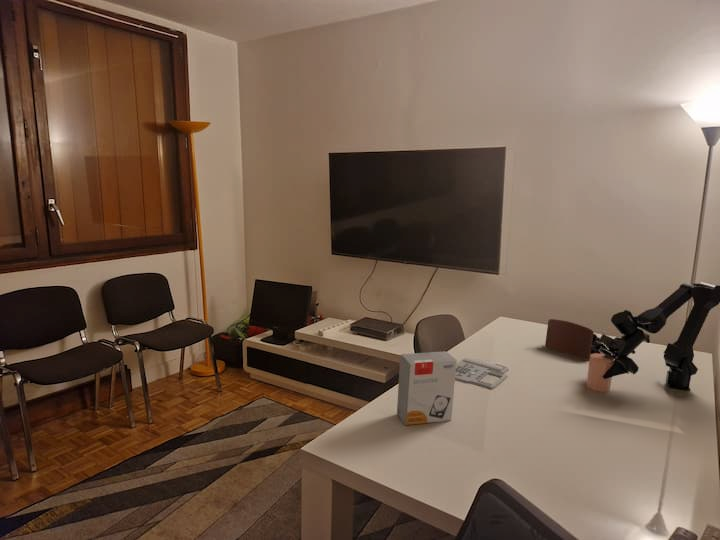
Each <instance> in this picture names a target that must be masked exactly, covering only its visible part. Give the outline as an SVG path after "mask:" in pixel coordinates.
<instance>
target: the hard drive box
mask: <svg viewBox="0 0 720 540" xmlns="http://www.w3.org/2000/svg"><path fill="white" fill-rule="evenodd" d="M399 356H400V357H399V371H398V372H399V373H398V375H399V376H398V389H397V390H398V391H397V404H396V405H397V406H396V415H397V416H398V417H399V419H400V420H401V422H402V424H404V426H409V425H410V426H411V425H414V424H417V425H421V424H427V423H443V422H449V421H452V415H453V406H454V396H455V395H454V393H455V383H456V382H455V381H456V380H455V373H456V364H457V363H458V362H457V359H456V358H455V357H454V356H453V355H452V354H450V353H449V352H447V351H431V352H430V351H429V352H416V353H403V354H402V353H401V354H400V355H399Z"/></svg>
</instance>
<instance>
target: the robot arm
mask: <svg viewBox="0 0 720 540" xmlns="http://www.w3.org/2000/svg"><path fill="white" fill-rule="evenodd" d="M691 299H692V302H693V306H692V308H691V310H690V312H689V314H688V317H687V319H686V321H685V323H684V325H683V327H682V329H681V332H680V333H679V336H678V338H677V340H676V341H675V342H673V343H671V342H669V343H667V345H666V348H665V350H663V359H664V363H665V366H666V367H668V368H669V370H667V371H666V377H665V382H666V384H667V386H668V387H669V388H671V389H678V390H684V391H689V392H690V391H691V388H690V383H691V380H692V379H691V378H692V376H693V375H696V374H697V372H698V370H699V368H698V367H697V366H696V364H694V362H693V361H694V358H695V353H694V348H693V347H694V345H695V342H696V341H697V339H698V336H699V335H700V332H701V330H702V328H703V327H704V324H705V321H706V320H707V317H708V315H709V313H710V312H711V310H713V309H714V308H715V307H716V306H718V305H719V304H720V285H719V284H715V283H711V282H706V281H701V282H699V283H696V282H695V283H693V282H690V283H687V282H685V283H684V282H683V283H681V284H680V286H679V287H678V288H677V289H676V290H674V292H672V293H671V294H670V295H669V296H668V297H666V298H665V299H664V300H663V301H661V302H660V303H659V304H658V305H657V306H655V307H654V308H653V307H652V308H649V309H646V310H644V311H643V312H641V313H639V314H638V315H635V316H634V315H633V313H632V312H631V311H630V310H627V309H624V310H623V311H619V312H617V313H615V314H613V315H612V316H611V318H610V322H611V323H612V325H613V326H614V327H615V328H616V330H617V331H618V332H619V333H620V334H621V335H622V336H620V337H618V336H616V337H615V338H613V337H611V336H608V335H607V334H604V333H602V334H601V336H600V337H599V338H600V340H599V341H594V342H593V343H592V344H591V346H592V347H593V350H594V353H598V354H605V355H608V356H611V357H612V358H613V359H614V364H613V366H612V367H611V368H610V369H609V370H608V371H607V372H606V373H605V374H604V375H603V378H604V379H607V378H610V377H612V378H613V377H616V376H620V375H624V374H628V375H629V374H630V373H631V374H633V375H636V374H637V373H638V372H639V368H640V367H639V366H638V364H636V362H635V361H634V360H633V358H631V357H629V355H631V354H633V355H635V354H636V351H635V350H636V349H637V348H638V346H640V345H641V344H642V343H643V342H645V343H646V344H650V342H651V341H650V340H651V339H650V335H649V334H657V333H659V332H660V331H661V330H662V329H663V328H664V327H665V326H666V324H667V319H668V318H669V317H670V316H671V315H673V314H674V313H675V312H676V311H678V309H680V308H681V307H682V306H683V305H685V304H686V303H687V302H688V301H690V300H691ZM645 332H648V333H649V334H648V333H645Z"/></svg>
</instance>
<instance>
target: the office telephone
mask: <svg viewBox="0 0 720 540" xmlns="http://www.w3.org/2000/svg"><path fill="white" fill-rule="evenodd" d="M508 371H510V370H509V367H506V365H503V364H498V363H495V362H490V361H487V360H484V359H480V358H475V357H472V356H466V357H465V358H463V359H462V360H461V361H459V362H456V373H455V381H460V382H462V383H465V384H473V385H475V386H476V385H477V386H479V387H480V386H481V387H483V388H487V389H489V390H495V389H496V388H498V386H500V385H501V384H502V383H503V382H504V381H505V380H506V379H507V378H508V374H506V373H507V372H508ZM487 375H489V376H490V375H491V376H495V377H497V378H499V379H497V380H496V381H495V382H494V383H489V382H486V381H482V379H484V377H486V376H487Z"/></svg>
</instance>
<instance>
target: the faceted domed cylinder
mask: <svg viewBox="0 0 720 540" xmlns="http://www.w3.org/2000/svg"><path fill="white" fill-rule="evenodd" d="M613 364H614V359H613V358H612V357H611V356H608V355H605V354H598V353H594V354H591V355H590V359H589V361H588V366H587V368H588V369H587V374H586V375H587V376H586V387H587V388H588V389H590V390H593V391H595V392H596V391H597V392H602V393H603V392H609V391H611V386H612V380H613V379H612V378H613V377H610V378H607V379H604V378H603V375H604V374H605V373H606V372H607V371H608V370H609V369H610V368H611V367H612V366H613Z"/></svg>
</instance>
